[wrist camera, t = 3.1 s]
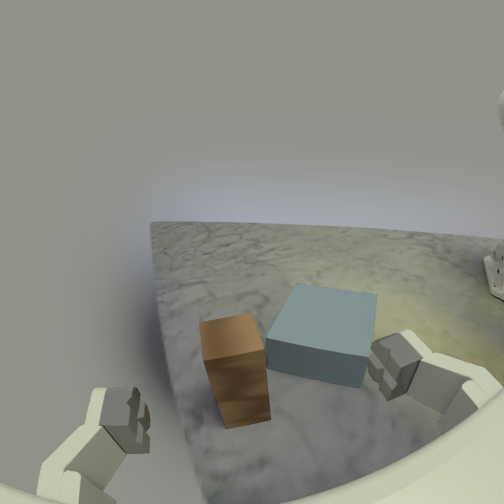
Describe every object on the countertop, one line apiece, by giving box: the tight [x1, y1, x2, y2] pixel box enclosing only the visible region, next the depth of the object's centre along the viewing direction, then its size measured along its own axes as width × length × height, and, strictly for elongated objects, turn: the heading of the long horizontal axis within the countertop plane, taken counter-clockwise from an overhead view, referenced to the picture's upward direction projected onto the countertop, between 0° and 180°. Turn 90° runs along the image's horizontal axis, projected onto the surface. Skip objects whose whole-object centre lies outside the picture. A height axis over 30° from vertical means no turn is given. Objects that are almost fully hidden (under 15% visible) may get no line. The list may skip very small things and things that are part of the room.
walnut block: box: [199, 313, 271, 429], centre depth 27 cm, size 5×5×12 cm
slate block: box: [266, 283, 378, 388], centre depth 36 cm, size 12×12×6 cm
